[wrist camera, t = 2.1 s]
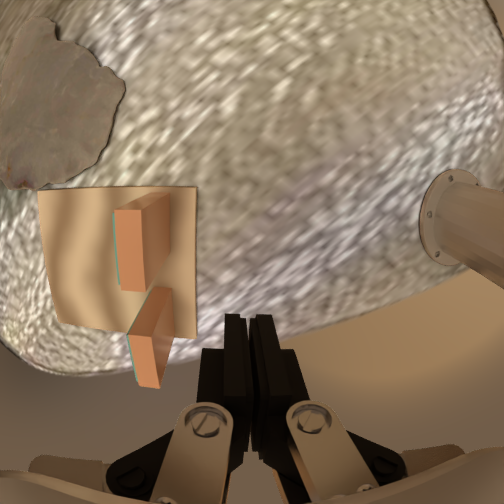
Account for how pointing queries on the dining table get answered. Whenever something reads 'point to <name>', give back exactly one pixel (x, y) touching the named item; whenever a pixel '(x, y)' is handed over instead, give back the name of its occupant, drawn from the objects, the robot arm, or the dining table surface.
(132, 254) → the tile
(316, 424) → the robot arm
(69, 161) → the stone tool
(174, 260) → the board
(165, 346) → the tile
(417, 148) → the dining table surface
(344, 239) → the dining table surface
